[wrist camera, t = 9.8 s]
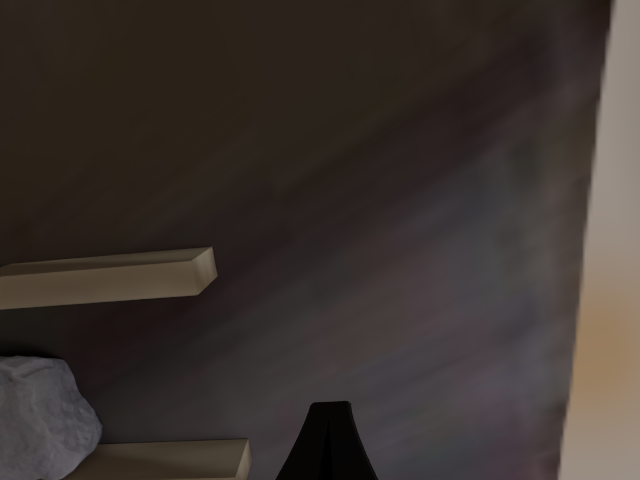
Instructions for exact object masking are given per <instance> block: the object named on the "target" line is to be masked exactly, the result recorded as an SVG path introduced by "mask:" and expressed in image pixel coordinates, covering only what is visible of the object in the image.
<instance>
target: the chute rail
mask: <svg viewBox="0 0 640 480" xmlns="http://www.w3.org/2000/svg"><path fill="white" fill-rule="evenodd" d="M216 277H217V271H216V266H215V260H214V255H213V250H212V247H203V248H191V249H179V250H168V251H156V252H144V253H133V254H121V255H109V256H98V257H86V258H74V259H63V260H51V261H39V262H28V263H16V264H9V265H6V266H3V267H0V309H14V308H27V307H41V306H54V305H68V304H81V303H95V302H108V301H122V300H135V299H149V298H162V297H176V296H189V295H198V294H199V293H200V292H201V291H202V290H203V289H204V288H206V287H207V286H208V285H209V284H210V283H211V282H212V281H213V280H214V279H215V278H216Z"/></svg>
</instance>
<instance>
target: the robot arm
mask: <svg viewBox="0 0 640 480" xmlns="http://www.w3.org/2000/svg"><path fill="white" fill-rule="evenodd" d="M276 480H378V478H377V476H376V474H375V472H374V470H373V468H372V466H371V463H370V461H369V459H368V457H367V454H366V452H365V450H364V447H363V445H362V442H361V440H360V437H359V434H358V431H357V428H356V425H355V422H354V419H353V414H352V409H351V403H349V402H348V401H336V402H315V403H312V404H311V405H310V409H309V412H308V414H307V417H306V420H305V422H304V424H303V427H302V429H301V431H300V434H299V436H298V438H297V440H296V442H295V444H294V446H293V448H292V450H291V452H290V454H289V456H288V458H287V460H286V462H285V464H284V465H283V467H282V469H281V471H280V472H279V474H278V476H277V478H276Z"/></svg>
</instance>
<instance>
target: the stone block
mask: <svg viewBox="0 0 640 480" xmlns="http://www.w3.org/2000/svg"><path fill="white" fill-rule="evenodd" d="M102 429H103V425H102V424H101V423H100V422H99V419H98V417H97V416H96V414H95V411H94V410H93V409H92V408H91V406H90V405H89V403H88V402H87V401H86V400H85V398H83V397H82V396H81V394H80V393H79V391H78V388H77V386H76V383H75V378H74V376H73V374H72V372H71V370H70V368H69V366H68V364H67V363H66V362H65V361H64V360H62V359H55V358H42V357H36V356H30V357H25V356H14V357H2V356H0V480H37V479H40V478H41V479H44V480H59V479H62V478H64V477H65V476H66V475H68V474H69V473H71V472H72V471H73V470H75V468H76V467H77V466H78V465H79V463H80V462H82V461H83V460H84V459H85V458H86V457H87V456H88V455H89V454H90V453H92V451H93V450H94V449H95V448H96V446H97V444H98V442H99V440H100V438H101V436H102Z"/></svg>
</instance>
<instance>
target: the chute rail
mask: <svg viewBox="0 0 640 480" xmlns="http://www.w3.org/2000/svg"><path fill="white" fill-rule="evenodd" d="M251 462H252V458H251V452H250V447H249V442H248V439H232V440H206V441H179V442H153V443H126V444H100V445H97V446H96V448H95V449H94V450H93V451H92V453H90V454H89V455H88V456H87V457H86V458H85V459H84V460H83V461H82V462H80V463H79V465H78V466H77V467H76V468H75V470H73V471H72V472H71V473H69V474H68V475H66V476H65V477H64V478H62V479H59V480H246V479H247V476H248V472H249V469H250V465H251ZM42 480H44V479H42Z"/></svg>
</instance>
